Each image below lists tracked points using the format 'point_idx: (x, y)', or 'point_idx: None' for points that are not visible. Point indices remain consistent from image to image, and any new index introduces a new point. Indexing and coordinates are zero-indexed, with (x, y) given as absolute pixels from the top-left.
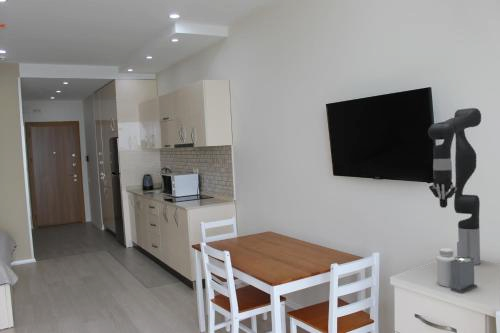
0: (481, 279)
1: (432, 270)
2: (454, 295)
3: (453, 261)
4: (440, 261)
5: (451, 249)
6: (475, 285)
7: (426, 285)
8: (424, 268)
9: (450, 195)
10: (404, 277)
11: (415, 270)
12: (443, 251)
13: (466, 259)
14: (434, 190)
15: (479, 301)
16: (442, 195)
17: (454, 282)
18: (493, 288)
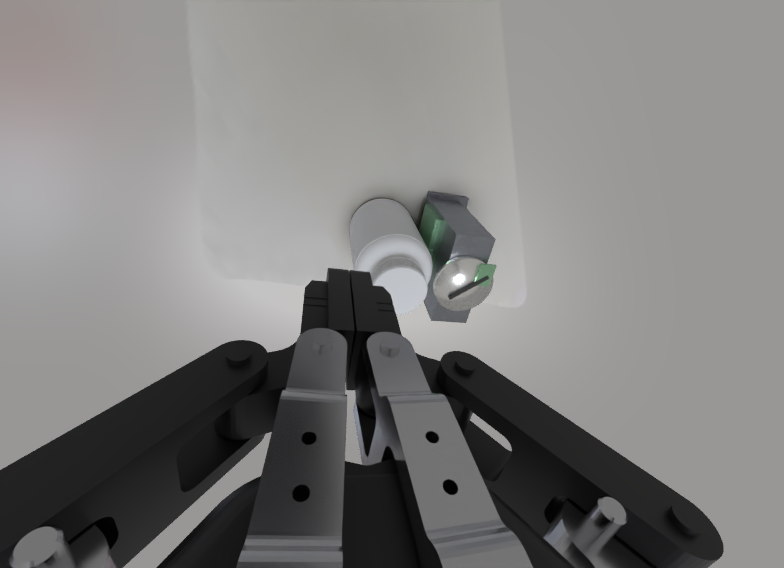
0: (461, 105)
1: (259, 107)
2: None
3: (439, 316)
4: None
5: (418, 279)
6: (464, 206)
7: None
8: (214, 99)
9: (498, 444)
10: (235, 255)
11: (206, 153)
12: (397, 314)
13: (482, 295)
14: (147, 528)
15: (491, 295)
16: (364, 448)
17: None
18: (510, 179)
